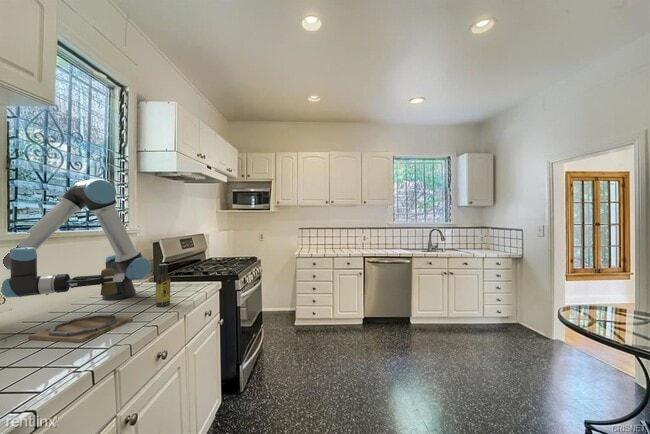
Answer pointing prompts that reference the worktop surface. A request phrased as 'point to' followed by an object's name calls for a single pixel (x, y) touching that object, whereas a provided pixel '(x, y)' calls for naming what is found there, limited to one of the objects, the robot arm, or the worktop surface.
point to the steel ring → (55, 333)
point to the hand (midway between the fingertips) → (123, 277)
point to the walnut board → (80, 326)
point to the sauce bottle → (163, 286)
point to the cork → (108, 287)
